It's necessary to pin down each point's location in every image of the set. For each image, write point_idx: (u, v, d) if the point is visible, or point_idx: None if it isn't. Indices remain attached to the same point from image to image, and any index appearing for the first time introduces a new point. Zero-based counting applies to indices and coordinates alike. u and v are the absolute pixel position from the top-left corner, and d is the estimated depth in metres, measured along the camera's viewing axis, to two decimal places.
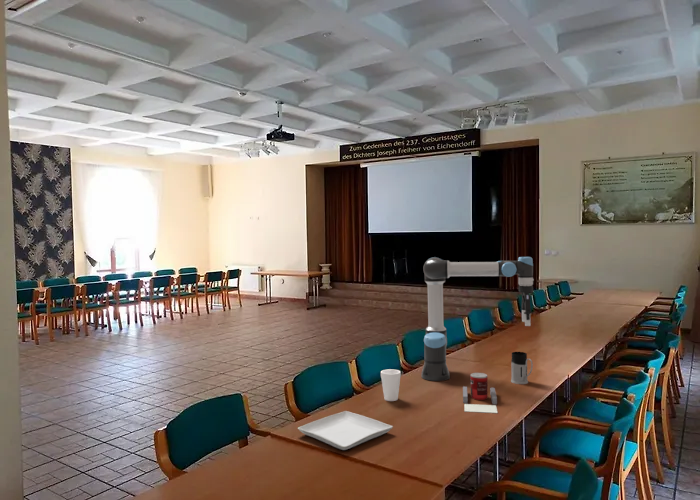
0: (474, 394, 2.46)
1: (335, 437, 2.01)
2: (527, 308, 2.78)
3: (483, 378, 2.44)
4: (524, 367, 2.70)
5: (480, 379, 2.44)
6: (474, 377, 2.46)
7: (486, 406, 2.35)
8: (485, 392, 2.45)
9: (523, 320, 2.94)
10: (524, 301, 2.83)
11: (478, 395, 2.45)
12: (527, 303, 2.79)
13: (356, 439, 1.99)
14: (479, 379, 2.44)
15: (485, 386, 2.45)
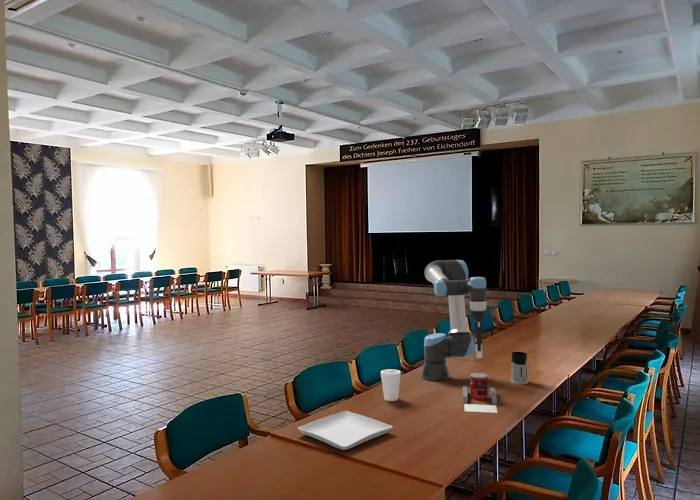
0: (474, 394, 2.46)
1: (335, 437, 2.01)
2: (478, 338, 2.39)
3: (483, 378, 2.44)
4: (524, 367, 2.70)
5: (480, 379, 2.44)
6: (474, 377, 2.46)
7: (486, 406, 2.35)
8: (485, 392, 2.45)
9: None
10: (476, 329, 2.44)
11: (478, 395, 2.45)
12: (478, 332, 2.40)
13: (356, 439, 1.99)
14: (479, 379, 2.44)
15: (485, 386, 2.45)
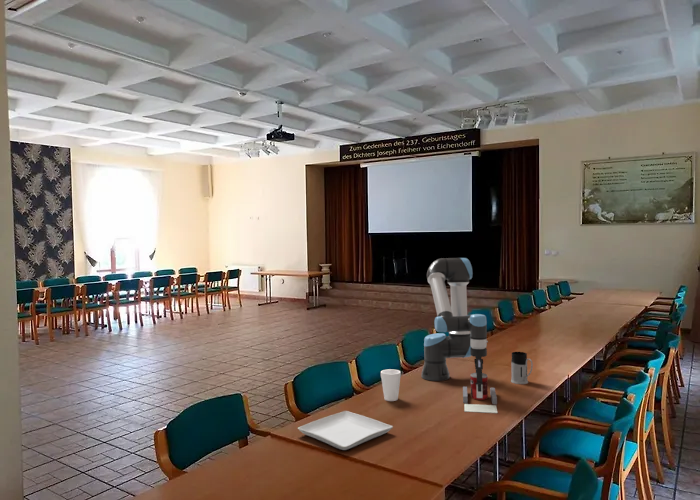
0: (474, 394, 2.46)
1: (335, 437, 2.01)
2: (478, 379, 2.41)
3: (483, 378, 2.44)
4: (524, 367, 2.70)
5: None
6: (474, 377, 2.46)
7: (486, 406, 2.35)
8: (485, 392, 2.45)
9: None
10: (476, 368, 2.45)
11: None
12: (479, 372, 2.41)
13: (356, 439, 1.99)
14: None
15: (485, 386, 2.45)
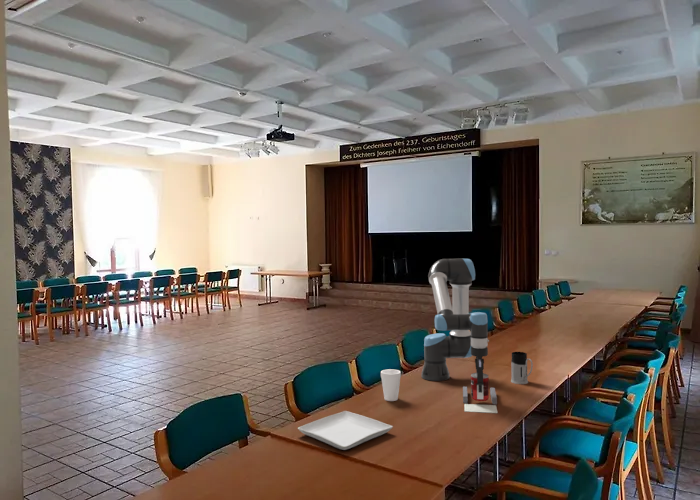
0: (475, 395, 2.37)
1: (335, 437, 2.01)
2: (479, 379, 2.32)
3: (484, 378, 2.36)
4: (524, 367, 2.70)
5: None
6: (475, 377, 2.37)
7: (486, 406, 2.35)
8: (486, 393, 2.36)
9: None
10: (477, 368, 2.37)
11: None
12: (479, 373, 2.33)
13: (356, 439, 1.99)
14: None
15: (486, 386, 2.36)
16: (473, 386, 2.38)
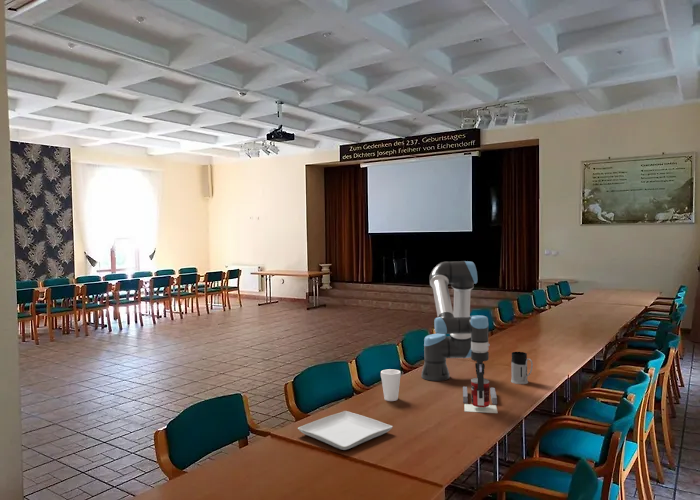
0: (475, 401, 2.30)
1: (335, 437, 2.01)
2: (479, 385, 2.25)
3: (485, 384, 2.28)
4: (524, 367, 2.70)
5: None
6: (475, 383, 2.29)
7: None
8: (487, 399, 2.29)
9: None
10: (477, 373, 2.29)
11: None
12: (480, 378, 2.25)
13: (356, 439, 1.99)
14: None
15: (487, 392, 2.29)
16: (473, 392, 2.30)
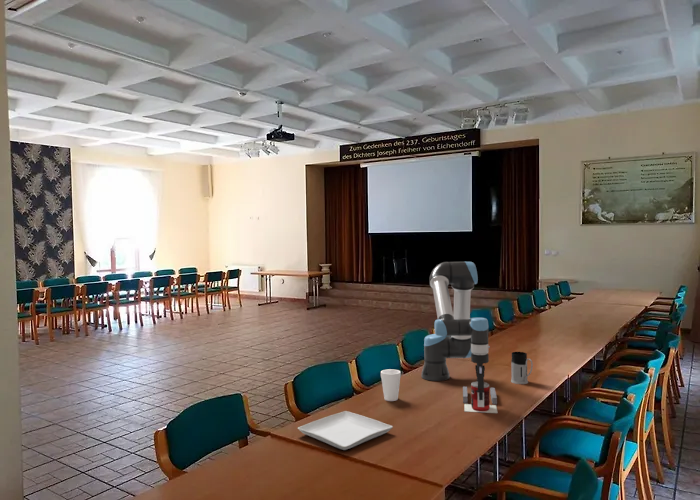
0: (475, 405, 2.30)
1: (335, 437, 2.01)
2: (480, 386, 2.24)
3: (485, 388, 2.28)
4: (524, 367, 2.70)
5: None
6: (475, 387, 2.29)
7: None
8: (487, 403, 2.29)
9: None
10: (477, 375, 2.29)
11: None
12: (480, 379, 2.25)
13: (356, 439, 1.99)
14: None
15: (487, 396, 2.29)
16: (473, 395, 2.30)
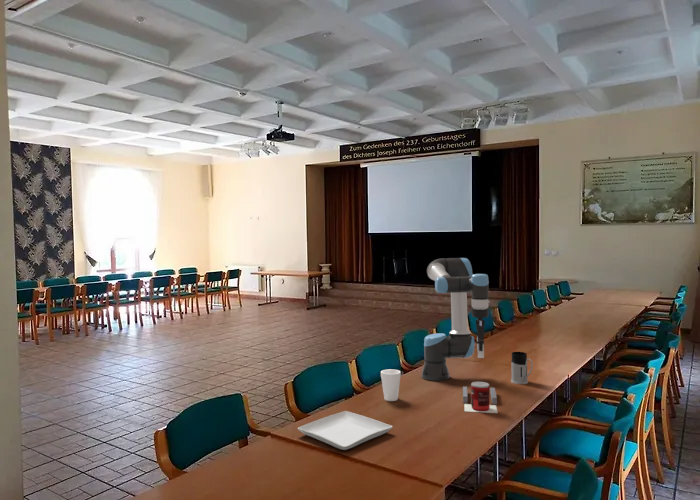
0: (475, 405, 2.30)
1: (335, 437, 2.01)
2: (479, 337, 2.30)
3: (485, 388, 2.28)
4: (524, 367, 2.70)
5: (481, 389, 2.28)
6: (475, 387, 2.29)
7: None
8: (487, 403, 2.29)
9: None
10: (477, 328, 2.36)
11: (479, 406, 2.29)
12: (480, 331, 2.32)
13: (356, 439, 1.99)
14: (480, 389, 2.28)
15: (487, 396, 2.29)
16: (473, 395, 2.30)
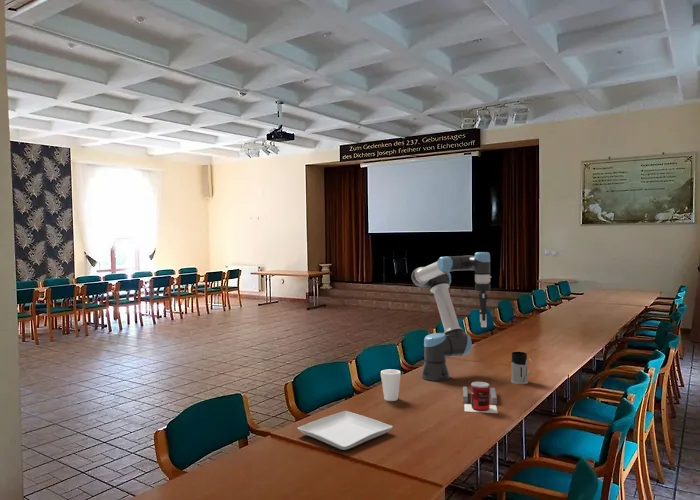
0: (475, 405, 2.30)
1: (335, 437, 2.01)
2: (483, 308, 2.55)
3: (485, 388, 2.28)
4: (524, 367, 2.70)
5: (481, 389, 2.28)
6: (475, 387, 2.29)
7: None
8: (487, 403, 2.29)
9: (481, 321, 2.71)
10: (480, 300, 2.61)
11: (479, 406, 2.29)
12: (483, 302, 2.56)
13: (356, 439, 1.99)
14: (480, 389, 2.28)
15: (487, 396, 2.29)
16: (473, 395, 2.30)
